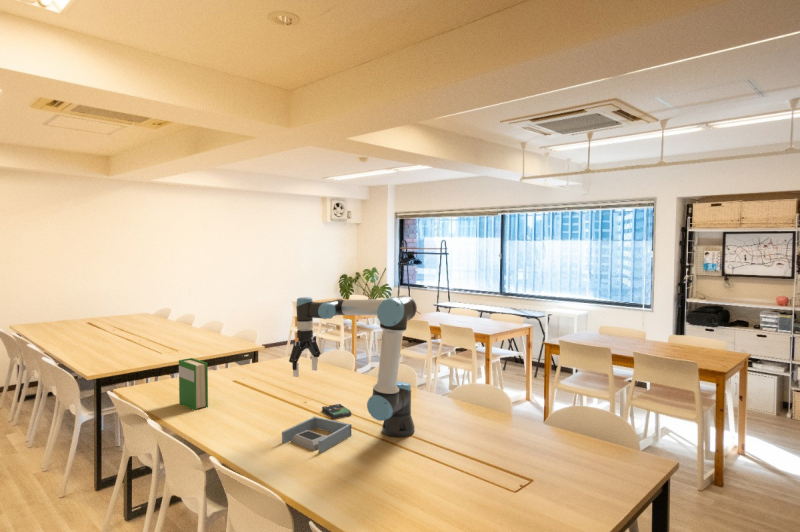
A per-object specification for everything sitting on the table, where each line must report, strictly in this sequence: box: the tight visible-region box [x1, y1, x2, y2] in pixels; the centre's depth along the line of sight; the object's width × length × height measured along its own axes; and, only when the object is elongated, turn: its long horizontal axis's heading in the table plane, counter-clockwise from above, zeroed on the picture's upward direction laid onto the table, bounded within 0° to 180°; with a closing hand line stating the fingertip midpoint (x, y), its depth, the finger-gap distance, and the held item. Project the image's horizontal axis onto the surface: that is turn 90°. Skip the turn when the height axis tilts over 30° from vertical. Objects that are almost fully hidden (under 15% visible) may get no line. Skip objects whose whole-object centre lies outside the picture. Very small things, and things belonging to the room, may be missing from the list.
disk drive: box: [321, 403, 352, 420], centre depth 255 cm, size 10×3×15 cm
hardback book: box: [178, 357, 209, 411], centre depth 267 cm, size 18×7×24 cm, turn 48°
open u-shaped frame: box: [281, 416, 352, 454], centre depth 221 cm, size 21×22×5 cm
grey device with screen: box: [290, 430, 326, 452], centre depth 217 cm, size 10×4×15 cm
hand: (305, 373), depth 238 cm, fingers open, 13 cm apart
